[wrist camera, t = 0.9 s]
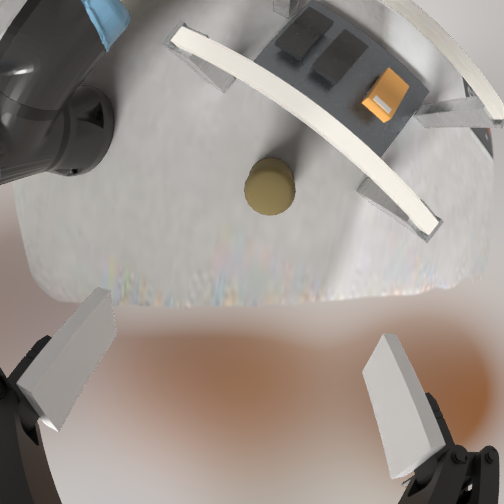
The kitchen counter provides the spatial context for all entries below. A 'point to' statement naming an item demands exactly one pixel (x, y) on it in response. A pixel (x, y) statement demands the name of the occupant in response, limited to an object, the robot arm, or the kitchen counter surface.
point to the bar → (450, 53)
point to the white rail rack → (346, 85)
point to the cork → (270, 187)
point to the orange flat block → (386, 95)
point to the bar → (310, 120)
